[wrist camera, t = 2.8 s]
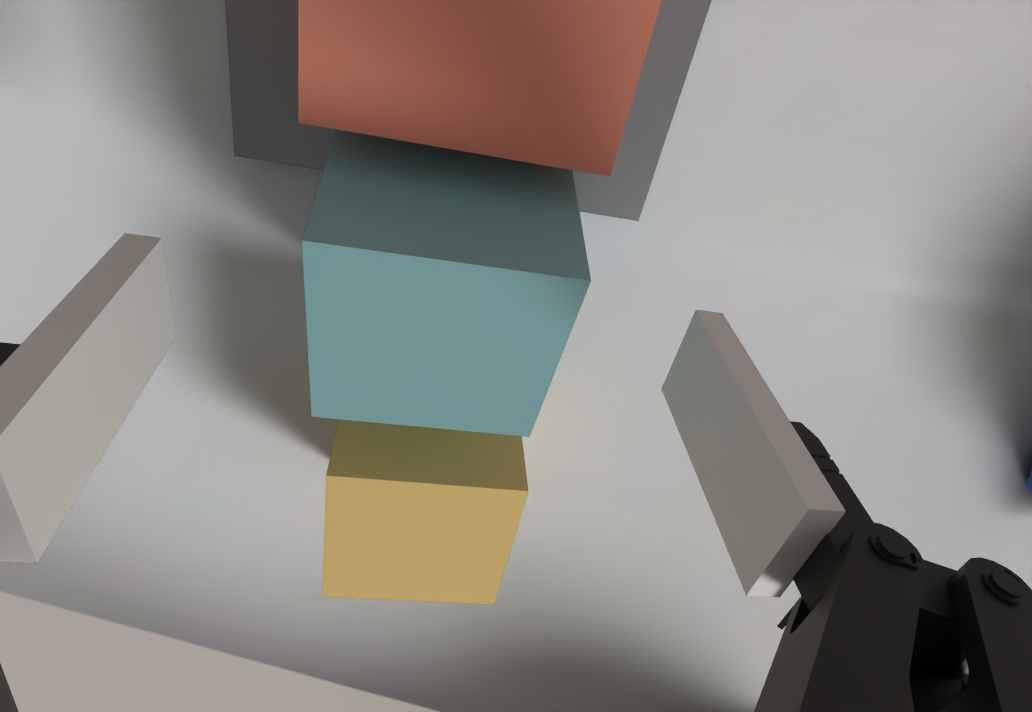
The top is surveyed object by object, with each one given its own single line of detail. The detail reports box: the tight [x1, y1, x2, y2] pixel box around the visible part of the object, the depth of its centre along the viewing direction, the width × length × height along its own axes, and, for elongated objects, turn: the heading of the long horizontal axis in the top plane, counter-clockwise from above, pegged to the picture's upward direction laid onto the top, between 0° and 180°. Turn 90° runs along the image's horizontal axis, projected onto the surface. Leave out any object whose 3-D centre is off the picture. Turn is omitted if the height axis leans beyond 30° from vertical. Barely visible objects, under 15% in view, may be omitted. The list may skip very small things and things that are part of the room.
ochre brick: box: [322, 419, 528, 604], centre depth 23 cm, size 6×6×6 cm
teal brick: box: [302, 129, 591, 437], centre depth 17 cm, size 6×6×6 cm
